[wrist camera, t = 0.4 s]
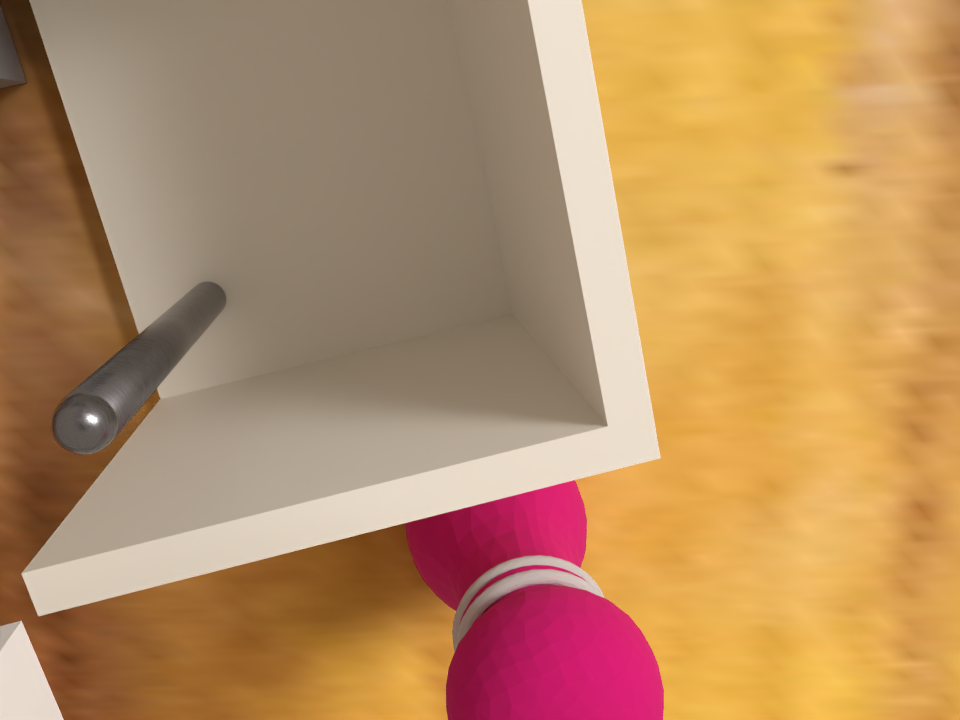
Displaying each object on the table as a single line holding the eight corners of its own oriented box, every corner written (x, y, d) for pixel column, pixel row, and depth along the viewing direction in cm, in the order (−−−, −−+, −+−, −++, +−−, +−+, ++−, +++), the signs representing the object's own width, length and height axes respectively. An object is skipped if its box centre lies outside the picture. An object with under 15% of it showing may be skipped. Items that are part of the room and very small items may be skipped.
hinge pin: (185, 286, 35) (31, 410, 19) (220, 278, 35) (97, 395, 19) (195, 319, 35) (53, 470, 19) (230, 312, 35) (118, 454, 19)
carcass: (-18, -174, 31) (-395, -484, 16) (421, -260, 32) (472, -628, 17) (177, 424, 37) (42, 627, 22) (542, 335, 38) (662, 468, 23)
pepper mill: (454, 584, 41) (533, 981, 22) (370, 460, 39) (375, 774, 20) (588, 504, 41) (788, 830, 21) (511, 375, 39) (654, 608, 20)
